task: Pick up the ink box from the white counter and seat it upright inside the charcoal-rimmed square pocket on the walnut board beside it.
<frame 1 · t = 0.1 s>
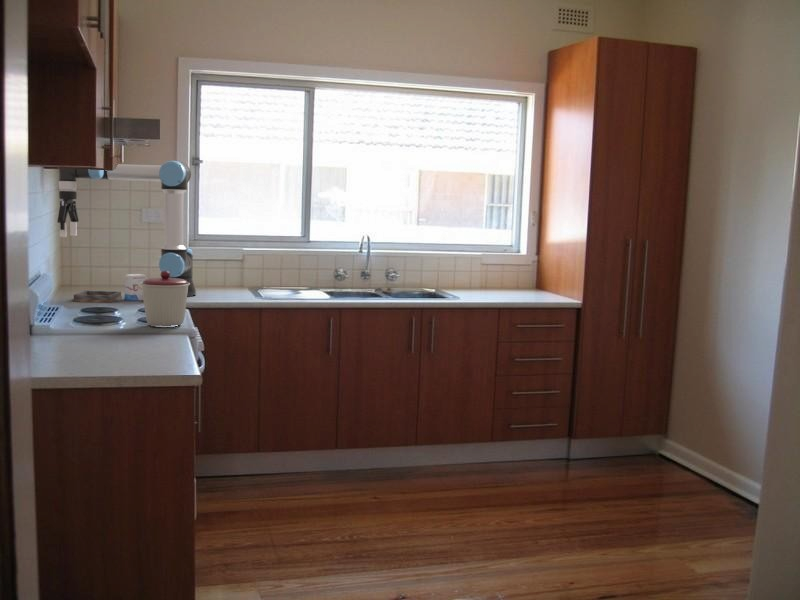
hand: (68, 236, 389), 28 cm above the countertop, tool pointing down, fingers open, 13 cm apart
pocket board: (98, 299, 382), on the countertop
canister: (165, 326, 316), on the countertop
ink box: (135, 300, 387), on the countertop
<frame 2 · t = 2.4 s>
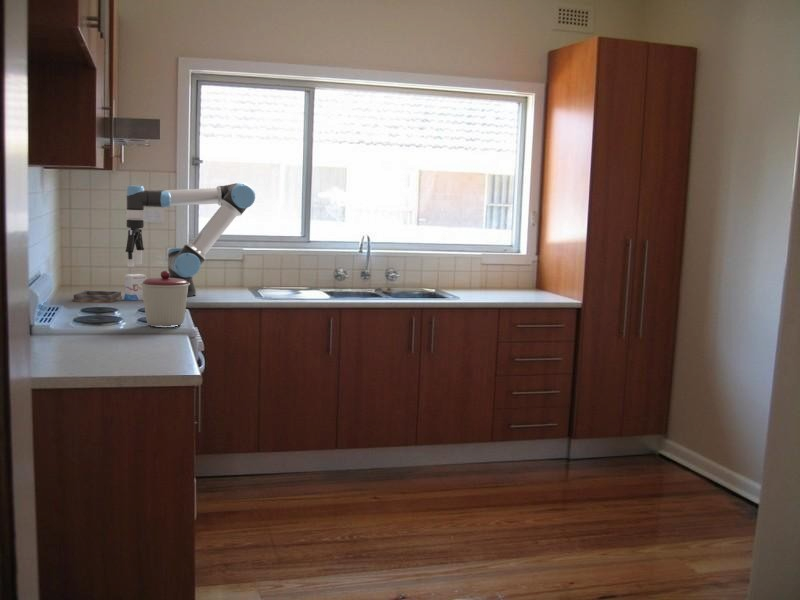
hand: (134, 265, 385), 16 cm above the countertop, tool pointing down, fingers open, 13 cm apart
nothing on the countertop moved.
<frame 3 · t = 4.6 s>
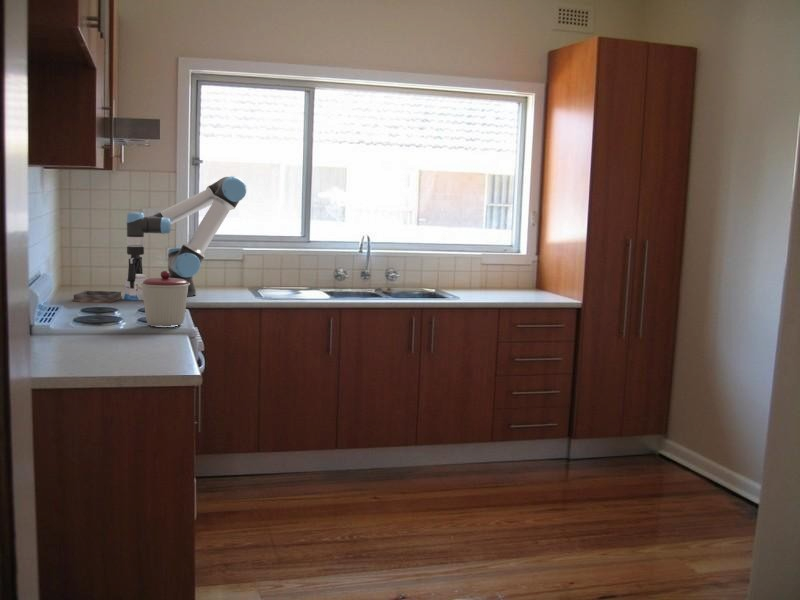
hand: (135, 294, 387), 3 cm above the countertop, tool pointing down, fingers closed on ink box, 9 cm apart
ink box: (135, 300, 387), on the countertop, touching gripper
everything else where it was.
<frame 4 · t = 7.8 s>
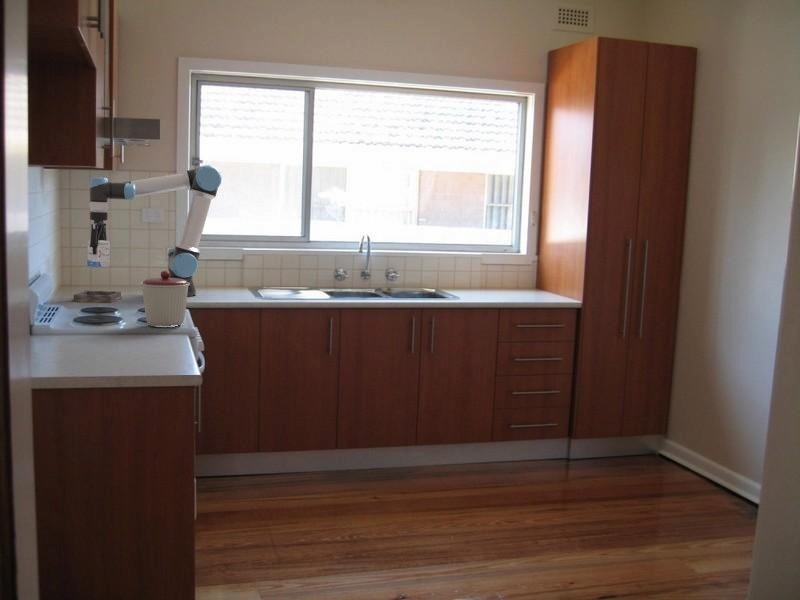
hand: (98, 260, 380), 18 cm above the countertop, tool pointing down, fingers closed on ink box, 9 cm apart
ink box: (98, 266, 380), point 15 cm above the countertop, touching gripper
everything else where it was.
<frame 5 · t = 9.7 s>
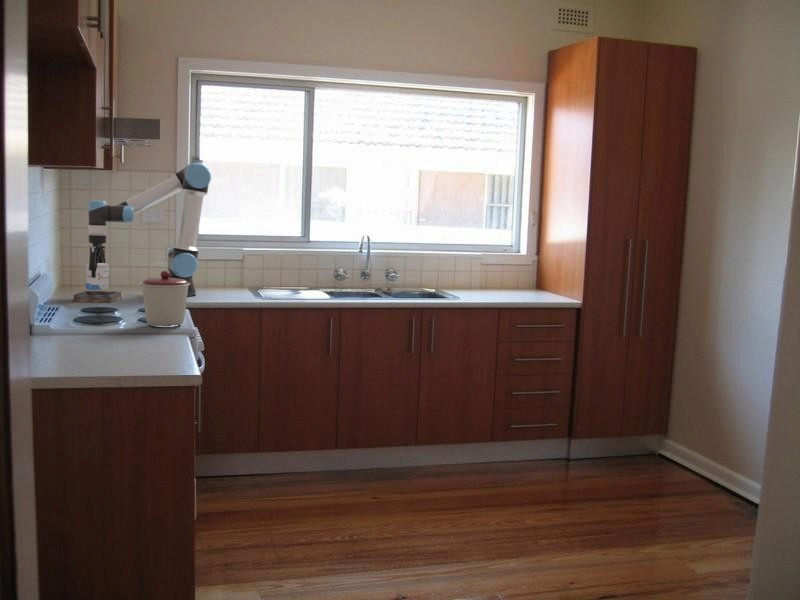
hand: (97, 283, 381), 7 cm above the countertop, tool pointing down, fingers closed on ink box, 9 cm apart
ink box: (97, 289, 381), point 5 cm above the countertop, touching gripper
everything else where it was.
when the fingers open (5 cm above the countertop, at t = 11.1 s): ink box drops 1 cm, resting on pocket board.
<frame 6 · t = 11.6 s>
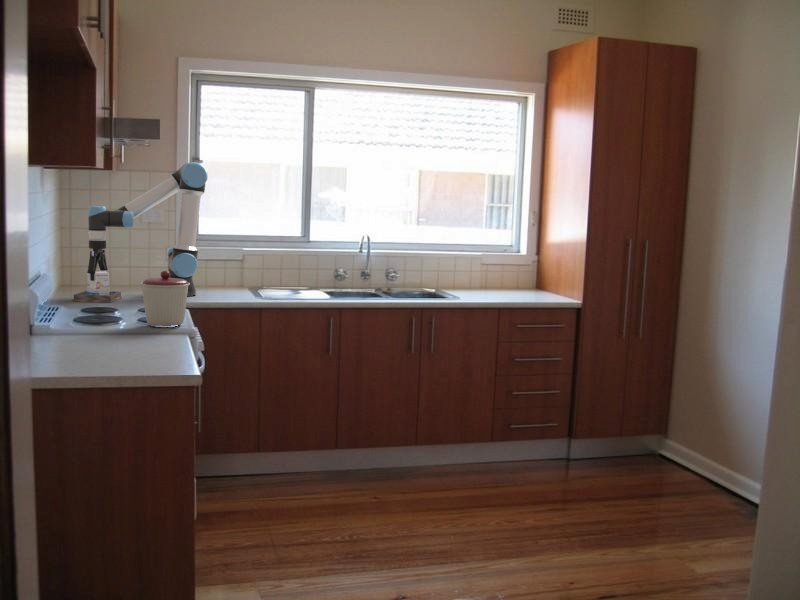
hand: (97, 286, 381), 6 cm above the countertop, tool pointing down, fingers open, 13 cm apart
ink box: (98, 297, 382), point 1 cm above the countertop, touching pocket board
everything else where it was.
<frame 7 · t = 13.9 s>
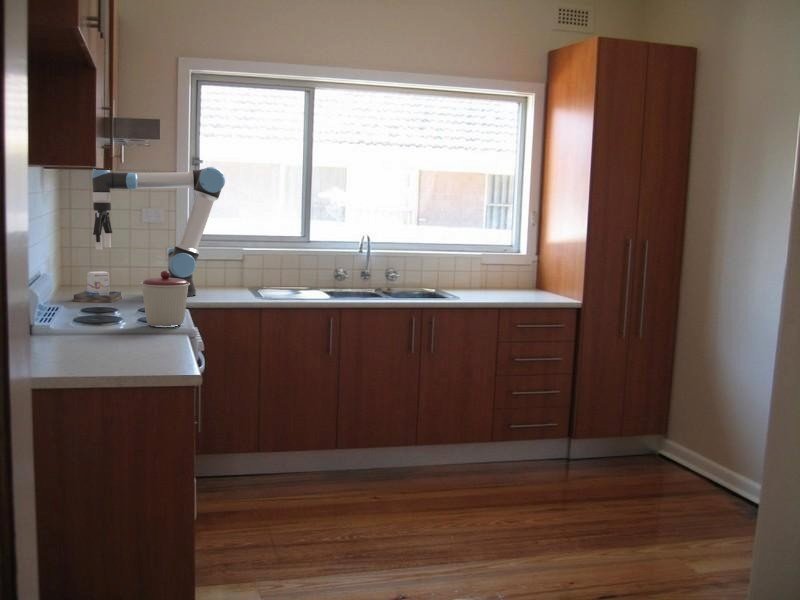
hand: (103, 248, 382), 23 cm above the countertop, tool pointing down, fingers open, 13 cm apart
nothing on the countertop moved.
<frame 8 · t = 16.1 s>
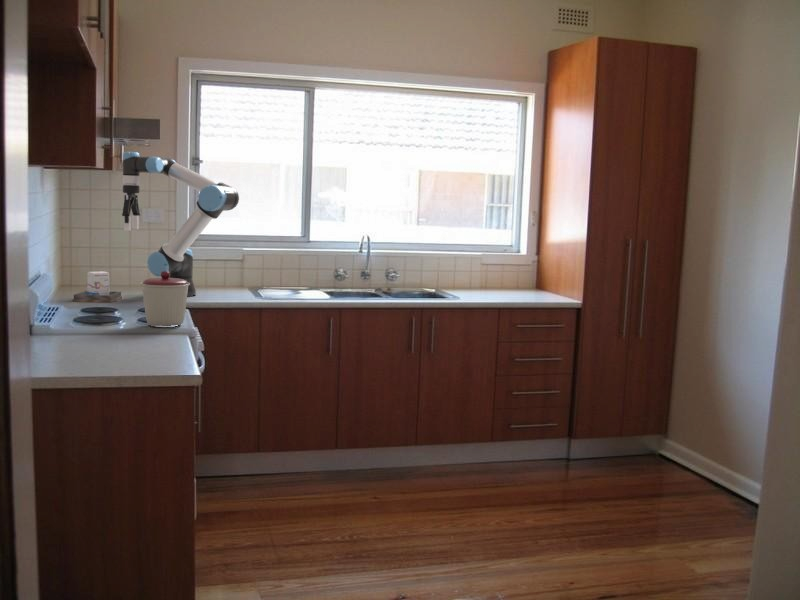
hand: (131, 229, 397), 32 cm above the countertop, tool pointing down, fingers open, 13 cm apart
nothing on the countertop moved.
at the end: ink box 0.4 cm off-centre on the pocket board, point 0.8 cm above the pocket board's base; ink box tilted 0°; the gripper is holding nothing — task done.
